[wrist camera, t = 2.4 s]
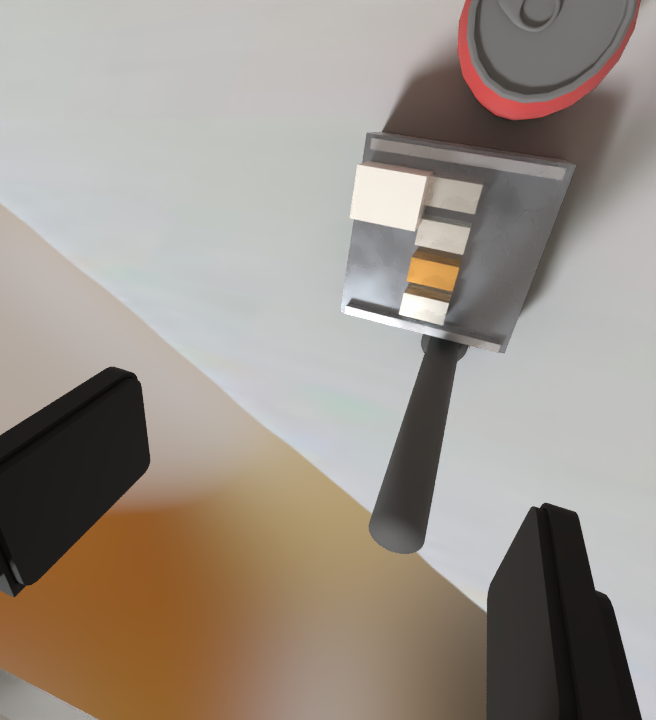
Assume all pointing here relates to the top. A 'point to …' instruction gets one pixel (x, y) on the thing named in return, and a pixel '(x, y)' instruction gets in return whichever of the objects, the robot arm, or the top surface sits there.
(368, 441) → the top surface
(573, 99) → the beer can
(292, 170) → the top surface
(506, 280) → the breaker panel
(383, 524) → the post
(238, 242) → the top surface
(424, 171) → the white block
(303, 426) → the top surface
